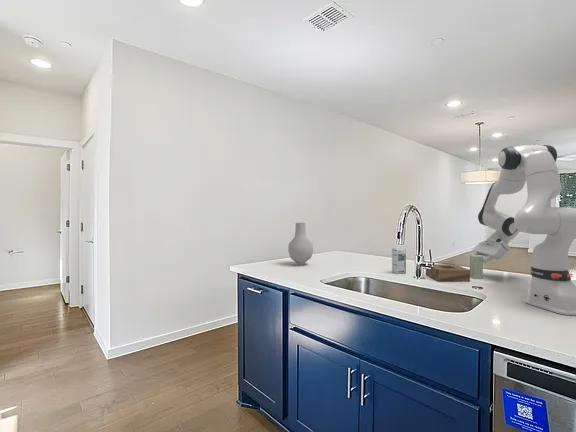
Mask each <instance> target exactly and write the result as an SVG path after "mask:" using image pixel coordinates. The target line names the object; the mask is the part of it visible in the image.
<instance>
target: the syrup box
mask: <svg viewBox="0 0 576 432" xmlns="http://www.w3.org/2000/svg"><path fill="white" fill-rule="evenodd" d="M406 250H407V249H406V248H405V247H404V248H403V247H393V248H391V272H392V273H393V274H396V275H399V274H406V273H407V265H406V264H407V261H406V260H407V259H406V258H407V255H406V253H407V251H406Z"/></svg>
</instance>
